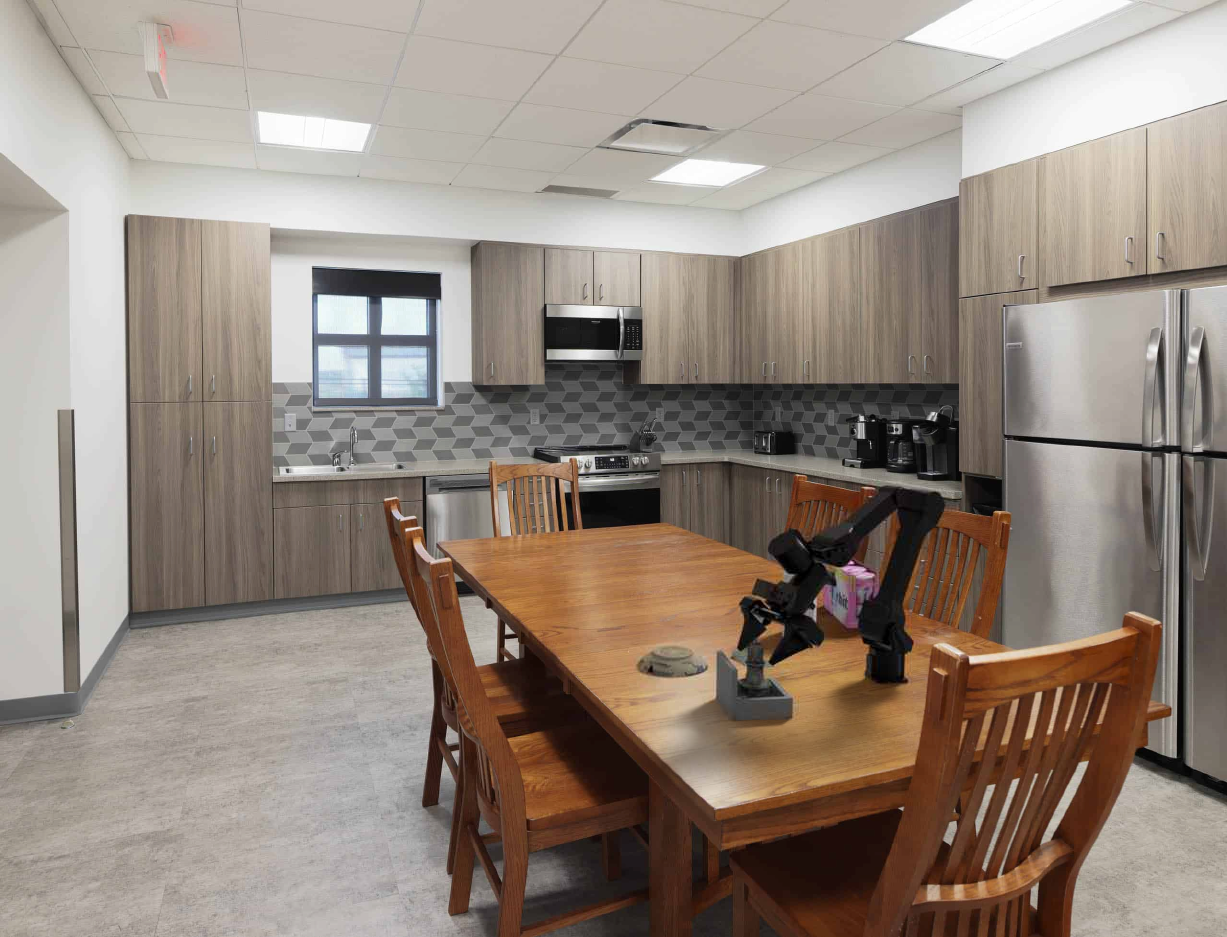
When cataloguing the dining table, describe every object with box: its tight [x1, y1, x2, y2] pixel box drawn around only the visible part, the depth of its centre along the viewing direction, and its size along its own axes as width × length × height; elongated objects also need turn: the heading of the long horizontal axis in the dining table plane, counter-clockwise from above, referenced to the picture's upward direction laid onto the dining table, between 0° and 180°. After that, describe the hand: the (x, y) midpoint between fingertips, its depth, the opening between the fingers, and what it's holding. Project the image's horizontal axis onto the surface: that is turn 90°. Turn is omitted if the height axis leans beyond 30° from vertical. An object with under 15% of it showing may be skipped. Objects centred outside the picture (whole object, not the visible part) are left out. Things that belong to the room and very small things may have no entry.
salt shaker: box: [739, 637, 771, 698], centre depth 149 cm, size 6×6×12 cm
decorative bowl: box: [637, 645, 709, 678], centre depth 173 cm, size 15×4×15 cm
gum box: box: [822, 557, 880, 629], centre depth 211 cm, size 24×8×14 cm, turn 1°
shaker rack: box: [715, 650, 794, 721], centre depth 149 cm, size 11×11×9 cm
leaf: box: [731, 650, 779, 669], centre depth 171 cm, size 20×8×1 cm, turn 12°
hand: (753, 656), depth 149 cm, fingers open, 9 cm apart
